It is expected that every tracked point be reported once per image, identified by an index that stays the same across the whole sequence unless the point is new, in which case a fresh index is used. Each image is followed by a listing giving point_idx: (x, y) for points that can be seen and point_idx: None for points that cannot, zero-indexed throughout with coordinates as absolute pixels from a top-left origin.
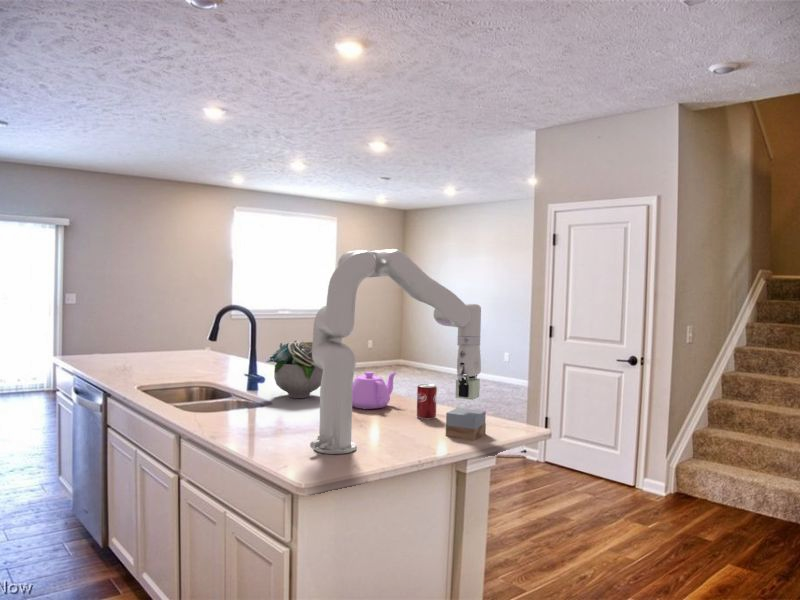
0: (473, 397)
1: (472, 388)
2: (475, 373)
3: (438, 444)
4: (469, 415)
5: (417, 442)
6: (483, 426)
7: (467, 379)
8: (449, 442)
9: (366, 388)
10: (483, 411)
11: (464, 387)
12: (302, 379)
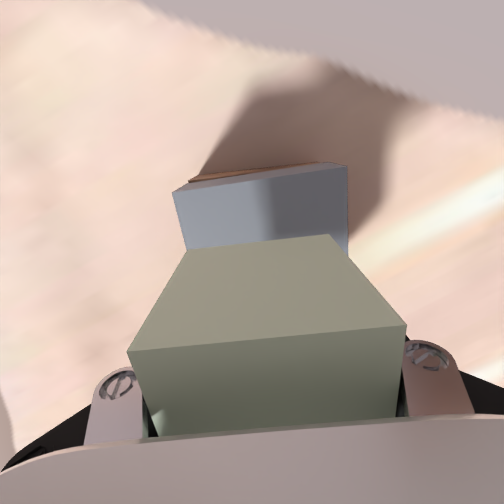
0: (311, 241)
1: (363, 276)
2: (306, 461)
3: (437, 232)
4: (332, 208)
5: (445, 291)
6: (216, 176)
7: (445, 402)
8: (393, 217)
9: None
10: (189, 198)
11: (408, 340)
12: None
